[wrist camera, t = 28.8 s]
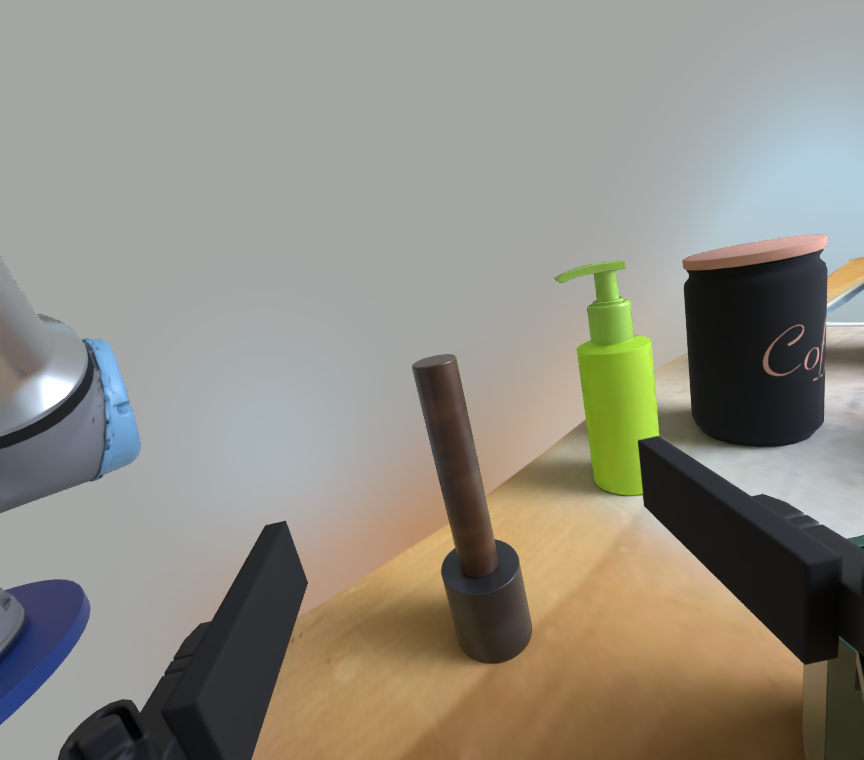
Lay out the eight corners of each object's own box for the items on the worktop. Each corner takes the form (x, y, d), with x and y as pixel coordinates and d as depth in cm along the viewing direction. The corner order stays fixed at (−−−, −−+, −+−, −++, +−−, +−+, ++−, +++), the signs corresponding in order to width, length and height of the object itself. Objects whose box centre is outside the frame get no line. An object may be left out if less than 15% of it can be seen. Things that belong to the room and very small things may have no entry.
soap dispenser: (578, 467, 43) (550, 271, 38) (651, 459, 41) (632, 253, 36) (588, 499, 37) (557, 275, 32) (672, 492, 36) (654, 254, 31)
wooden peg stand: (462, 671, 24) (387, 382, 20) (453, 607, 29) (391, 361, 24) (542, 653, 24) (485, 359, 20) (520, 592, 29) (471, 342, 24)
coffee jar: (780, 461, 36) (779, 251, 32) (670, 429, 46) (657, 264, 42) (849, 421, 40) (857, 227, 35) (733, 399, 50) (728, 244, 45)
